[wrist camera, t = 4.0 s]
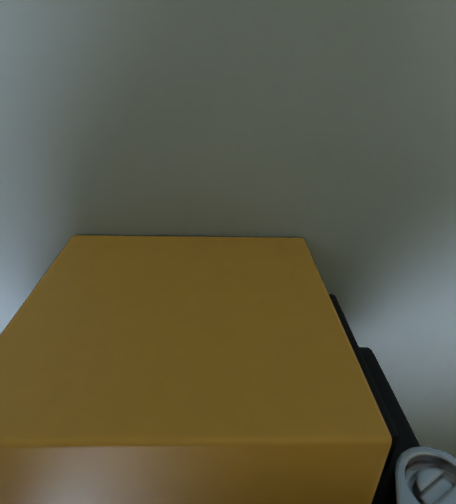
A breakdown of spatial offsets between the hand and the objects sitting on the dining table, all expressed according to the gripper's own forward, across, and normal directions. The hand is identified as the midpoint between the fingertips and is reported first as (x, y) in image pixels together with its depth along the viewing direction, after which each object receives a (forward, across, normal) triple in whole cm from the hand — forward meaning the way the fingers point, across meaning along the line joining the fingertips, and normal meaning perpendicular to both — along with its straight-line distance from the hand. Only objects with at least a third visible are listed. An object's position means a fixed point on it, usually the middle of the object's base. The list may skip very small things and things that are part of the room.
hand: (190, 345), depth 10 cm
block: (+1, 0, 0) cm, 1 cm away
